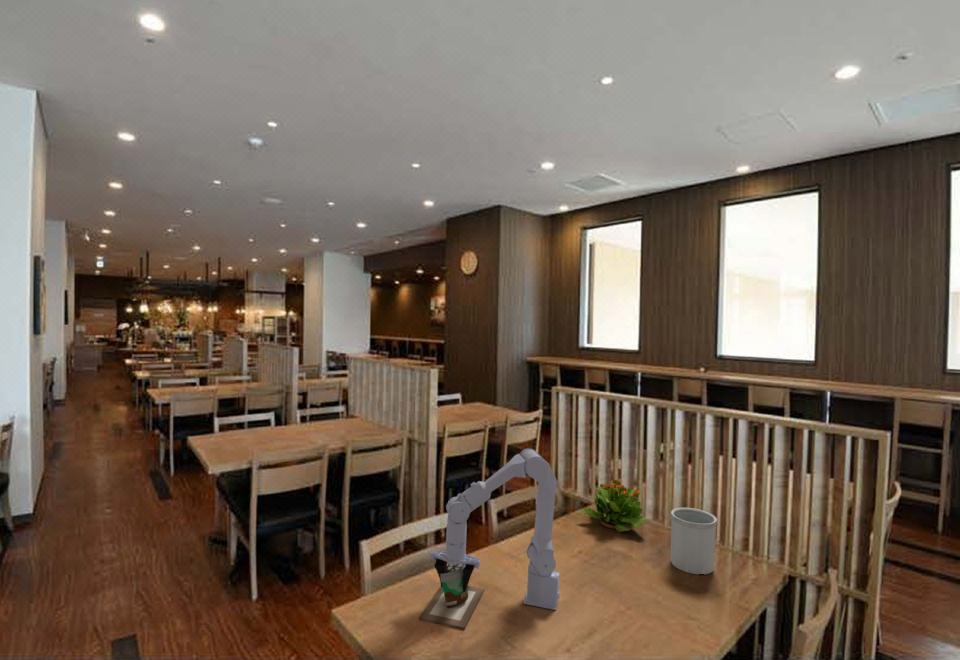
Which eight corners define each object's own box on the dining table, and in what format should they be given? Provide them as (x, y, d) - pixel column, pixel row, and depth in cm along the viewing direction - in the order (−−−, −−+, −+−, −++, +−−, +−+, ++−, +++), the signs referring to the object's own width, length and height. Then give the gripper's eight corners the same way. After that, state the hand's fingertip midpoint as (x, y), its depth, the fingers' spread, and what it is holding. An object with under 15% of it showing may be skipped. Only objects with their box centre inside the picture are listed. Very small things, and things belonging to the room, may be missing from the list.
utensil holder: (667, 569, 170) (670, 518, 169) (668, 551, 183) (671, 504, 183) (715, 580, 164) (718, 527, 164) (713, 560, 178) (715, 511, 177)
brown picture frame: (484, 591, 151) (484, 589, 151) (464, 629, 132) (464, 627, 132) (443, 583, 155) (443, 581, 155) (418, 619, 135) (418, 617, 135)
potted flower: (581, 531, 197) (583, 487, 197) (579, 509, 221) (581, 470, 220) (647, 539, 193) (649, 494, 193) (638, 515, 217) (640, 475, 216)
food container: (466, 610, 138) (460, 573, 138) (445, 611, 139) (439, 575, 139) (476, 587, 150) (471, 553, 150) (457, 588, 151) (451, 555, 151)
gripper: (427, 542, 141) (425, 590, 141) (476, 551, 137) (474, 600, 137) (436, 532, 148) (434, 578, 148) (483, 540, 144) (481, 587, 144)
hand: (454, 587), depth 143 cm, fingers closed on food container, 6 cm apart
